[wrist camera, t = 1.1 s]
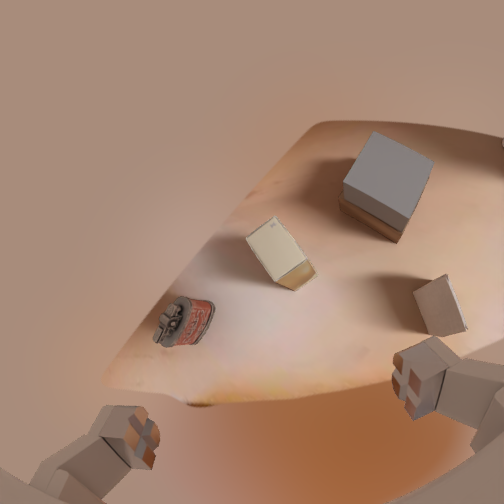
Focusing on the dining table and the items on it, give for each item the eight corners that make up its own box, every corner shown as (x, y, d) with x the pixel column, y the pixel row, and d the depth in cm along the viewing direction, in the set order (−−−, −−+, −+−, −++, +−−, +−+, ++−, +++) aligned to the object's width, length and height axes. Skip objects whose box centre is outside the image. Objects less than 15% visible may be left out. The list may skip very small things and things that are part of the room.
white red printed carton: (429, 334, 30) (454, 339, 21) (412, 292, 33) (432, 283, 24) (449, 322, 29) (478, 322, 20) (432, 280, 32) (457, 267, 23)
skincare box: (272, 259, 41) (242, 236, 30) (295, 242, 40) (273, 211, 29) (296, 294, 38) (273, 283, 27) (320, 276, 38) (308, 258, 27)
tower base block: (369, 162, 39) (369, 145, 35) (422, 191, 35) (429, 176, 31) (340, 210, 39) (338, 197, 35) (396, 244, 35) (402, 234, 31)
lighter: (203, 296, 43) (166, 289, 34) (219, 307, 42) (184, 302, 33) (182, 337, 43) (143, 339, 34) (197, 348, 42) (158, 353, 33)
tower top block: (372, 151, 34) (373, 130, 30) (426, 180, 31) (434, 162, 26) (344, 198, 34) (342, 181, 30) (401, 232, 31) (409, 219, 26)
